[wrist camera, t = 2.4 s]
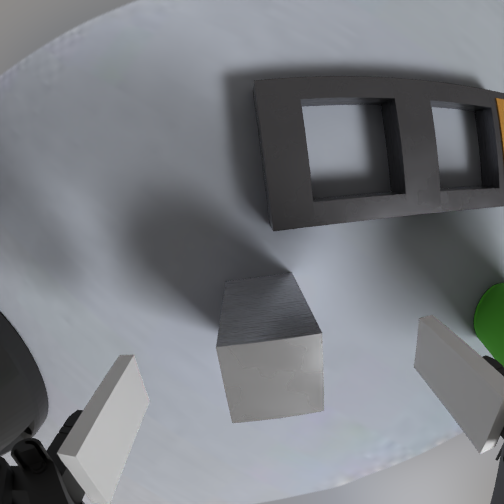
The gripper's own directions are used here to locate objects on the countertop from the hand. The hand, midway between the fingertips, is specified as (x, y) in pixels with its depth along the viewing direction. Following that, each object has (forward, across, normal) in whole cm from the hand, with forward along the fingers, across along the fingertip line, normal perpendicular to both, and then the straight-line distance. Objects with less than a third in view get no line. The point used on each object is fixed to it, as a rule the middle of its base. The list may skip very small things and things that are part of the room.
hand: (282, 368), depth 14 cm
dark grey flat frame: (+7, +9, +9) cm, 15 cm away
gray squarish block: (+7, -1, 0) cm, 7 cm away
